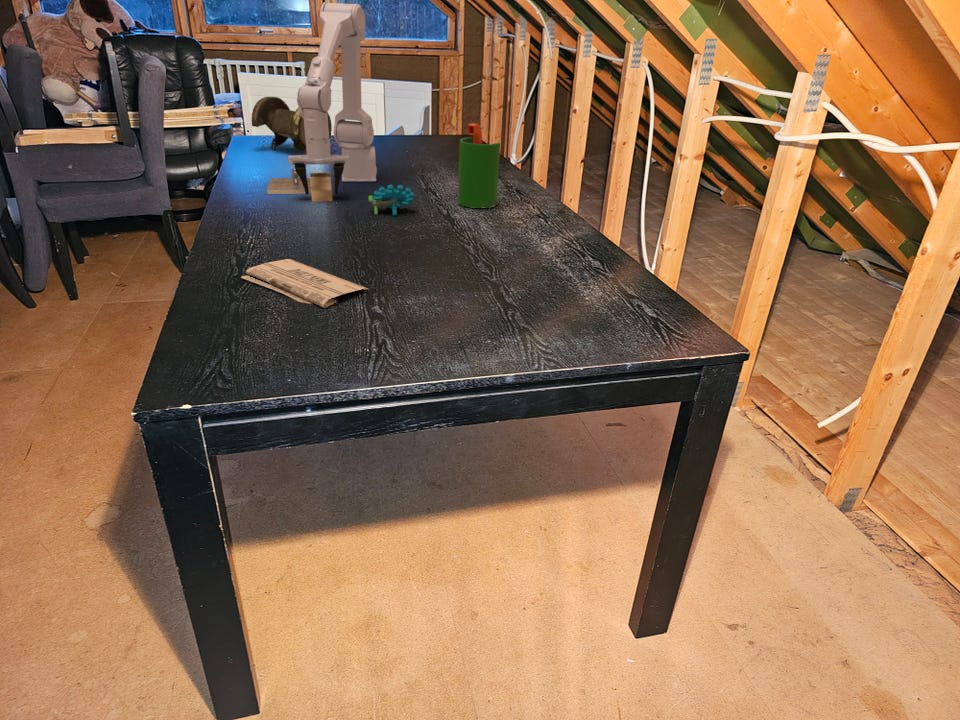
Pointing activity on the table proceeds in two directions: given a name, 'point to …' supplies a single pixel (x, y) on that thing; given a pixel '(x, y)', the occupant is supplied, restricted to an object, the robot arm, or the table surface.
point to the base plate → (288, 185)
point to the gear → (391, 198)
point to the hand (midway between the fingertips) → (321, 193)
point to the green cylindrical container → (478, 170)
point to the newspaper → (301, 282)
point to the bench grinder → (281, 121)
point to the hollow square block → (321, 187)
